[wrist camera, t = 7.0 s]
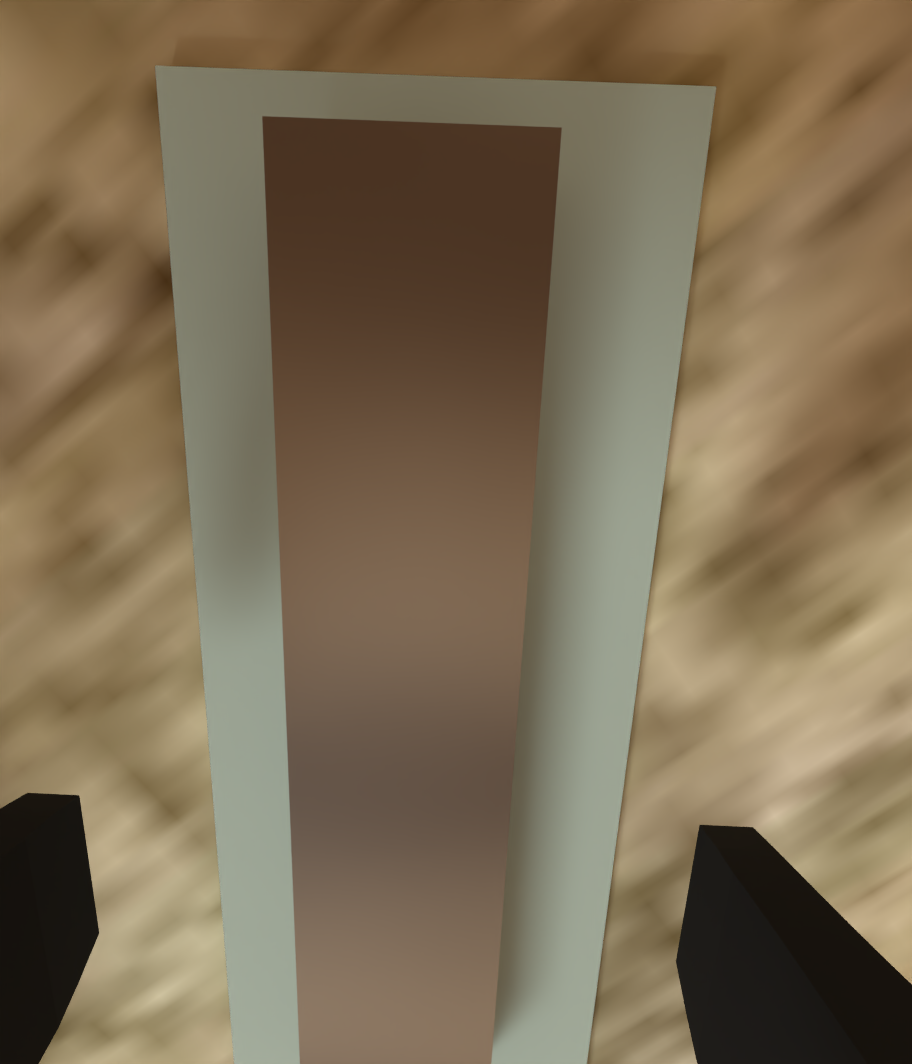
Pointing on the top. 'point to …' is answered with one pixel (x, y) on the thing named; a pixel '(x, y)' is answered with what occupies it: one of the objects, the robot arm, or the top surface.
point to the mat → (557, 524)
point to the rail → (404, 558)
